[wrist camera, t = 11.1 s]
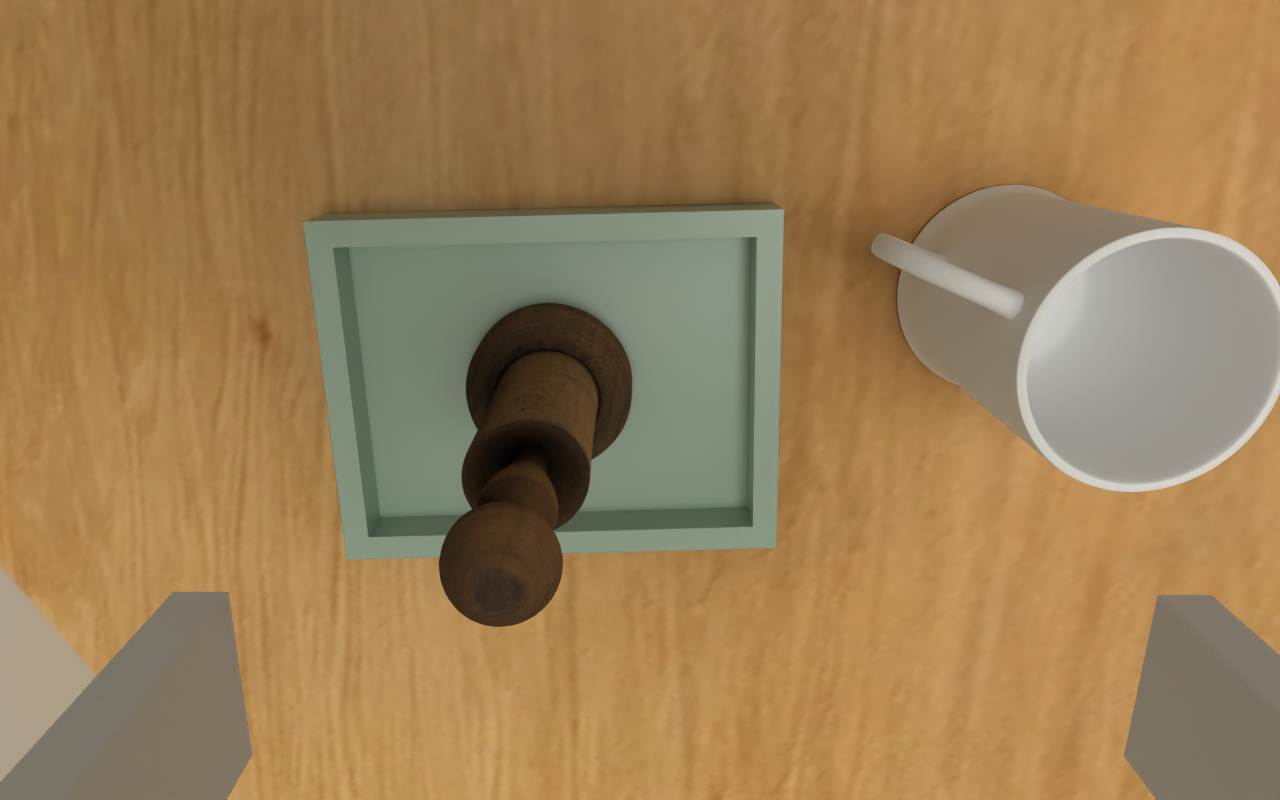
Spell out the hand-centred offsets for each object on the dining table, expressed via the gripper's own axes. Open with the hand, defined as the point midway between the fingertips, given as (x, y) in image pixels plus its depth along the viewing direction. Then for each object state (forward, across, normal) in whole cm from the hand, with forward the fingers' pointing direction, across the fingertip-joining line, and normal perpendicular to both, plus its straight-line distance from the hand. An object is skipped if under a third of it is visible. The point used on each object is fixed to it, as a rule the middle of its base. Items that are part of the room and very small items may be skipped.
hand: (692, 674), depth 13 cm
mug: (+27, +13, +1) cm, 30 cm away
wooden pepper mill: (+26, -4, -4) cm, 27 cm away
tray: (+26, -4, -4) cm, 27 cm away
